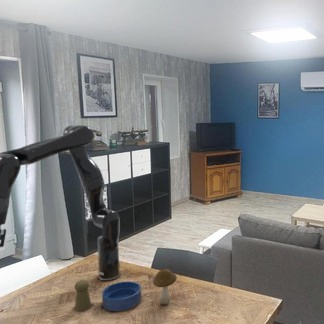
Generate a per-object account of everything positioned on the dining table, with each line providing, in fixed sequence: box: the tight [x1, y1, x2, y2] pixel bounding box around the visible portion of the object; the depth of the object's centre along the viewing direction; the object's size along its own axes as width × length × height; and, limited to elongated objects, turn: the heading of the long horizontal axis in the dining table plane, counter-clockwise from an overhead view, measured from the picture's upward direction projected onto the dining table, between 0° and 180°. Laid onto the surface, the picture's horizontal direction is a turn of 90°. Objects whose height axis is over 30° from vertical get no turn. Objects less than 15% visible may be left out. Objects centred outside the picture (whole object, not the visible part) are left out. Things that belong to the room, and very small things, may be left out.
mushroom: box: [152, 268, 178, 306], centre depth 141 cm, size 9×11×15 cm
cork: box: [74, 279, 92, 312], centre depth 137 cm, size 6×6×11 cm
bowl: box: [101, 280, 143, 312], centre depth 142 cm, size 15×15×6 cm
